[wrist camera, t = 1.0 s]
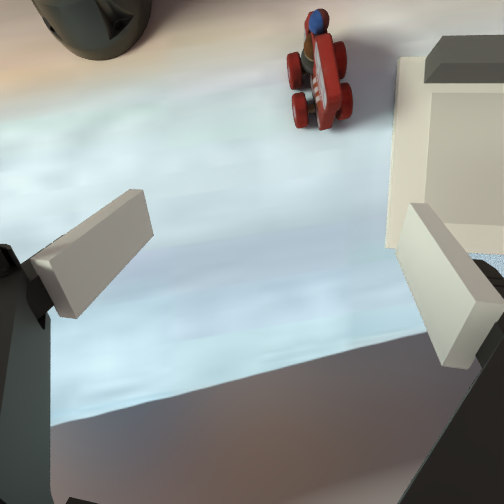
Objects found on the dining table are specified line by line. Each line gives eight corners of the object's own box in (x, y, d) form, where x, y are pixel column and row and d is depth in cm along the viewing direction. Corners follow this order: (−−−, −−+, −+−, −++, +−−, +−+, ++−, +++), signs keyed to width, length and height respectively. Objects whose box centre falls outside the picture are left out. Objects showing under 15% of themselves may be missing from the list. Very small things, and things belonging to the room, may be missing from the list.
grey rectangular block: (425, 59, 36) (442, 35, 32) (530, 58, 35) (562, 33, 31) (423, 83, 36) (440, 63, 32) (528, 83, 35) (560, 62, 31)
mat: (397, 61, 38) (400, 56, 37) (550, 60, 36) (559, 54, 35) (384, 248, 38) (387, 248, 37) (535, 256, 36) (543, 256, 35)
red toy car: (335, 41, 39) (355, -35, 28) (349, 134, 39) (374, 93, 28) (283, 53, 39) (283, -17, 29) (297, 144, 39) (301, 107, 29)
